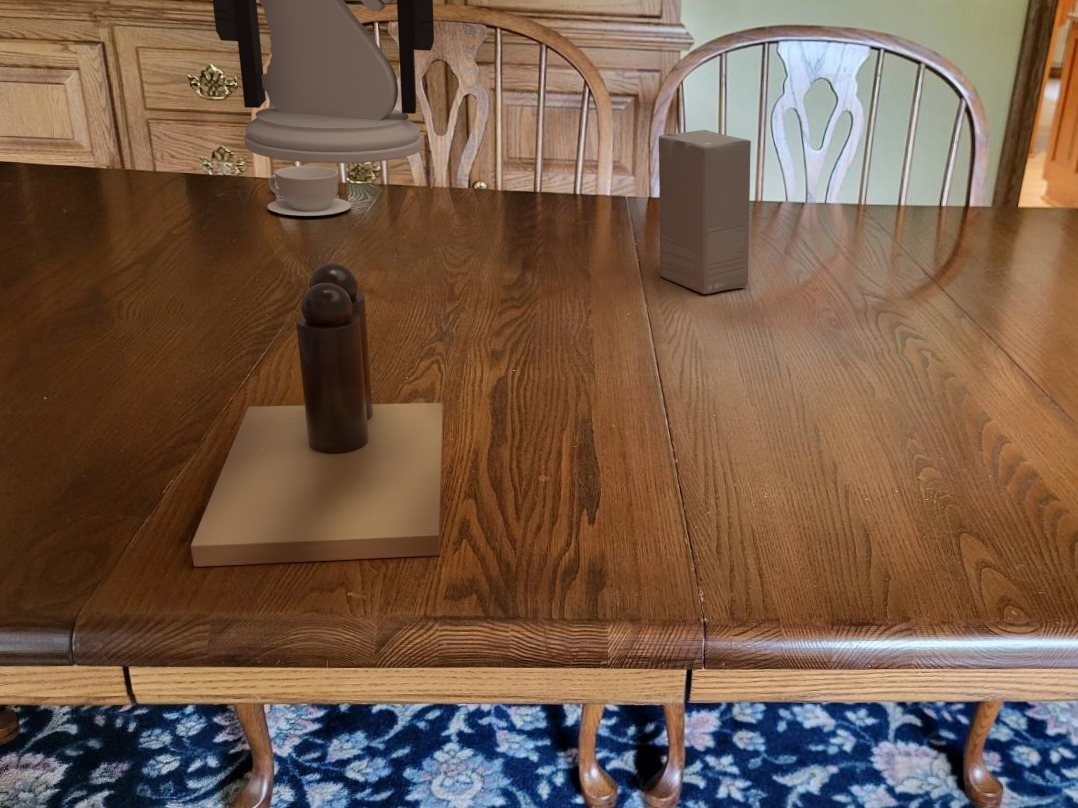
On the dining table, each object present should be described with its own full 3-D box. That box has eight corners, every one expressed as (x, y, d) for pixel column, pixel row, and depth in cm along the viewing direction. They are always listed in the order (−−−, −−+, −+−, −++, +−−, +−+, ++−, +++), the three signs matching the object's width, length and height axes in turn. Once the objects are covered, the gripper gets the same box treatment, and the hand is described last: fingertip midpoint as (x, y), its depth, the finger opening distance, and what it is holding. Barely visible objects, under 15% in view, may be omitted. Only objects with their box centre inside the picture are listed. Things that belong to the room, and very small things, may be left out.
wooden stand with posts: (193, 567, 64) (160, 360, 58) (250, 424, 82) (228, 255, 76) (440, 556, 67) (431, 357, 61) (443, 420, 84) (436, 256, 79)
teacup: (364, 204, 142) (361, 167, 140) (331, 222, 133) (328, 183, 131) (289, 197, 143) (286, 160, 141) (252, 215, 134) (248, 176, 132)
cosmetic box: (748, 288, 120) (761, 140, 113) (696, 298, 116) (706, 144, 109) (701, 268, 126) (711, 126, 119) (650, 276, 122) (656, 129, 115)
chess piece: (386, 170, 59) (366, -147, 53) (211, 154, 60) (170, -160, 53) (445, 138, 68) (435, -136, 61) (293, 125, 69) (266, -147, 62)
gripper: (510, -340, 59) (511, 103, 68) (87, -393, 54) (154, 89, 64) (518, -371, 52) (519, 124, 62) (38, -434, 48) (121, 110, 57)
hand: (333, 106), depth 63 cm, fingers closed on chess piece, 8 cm apart
